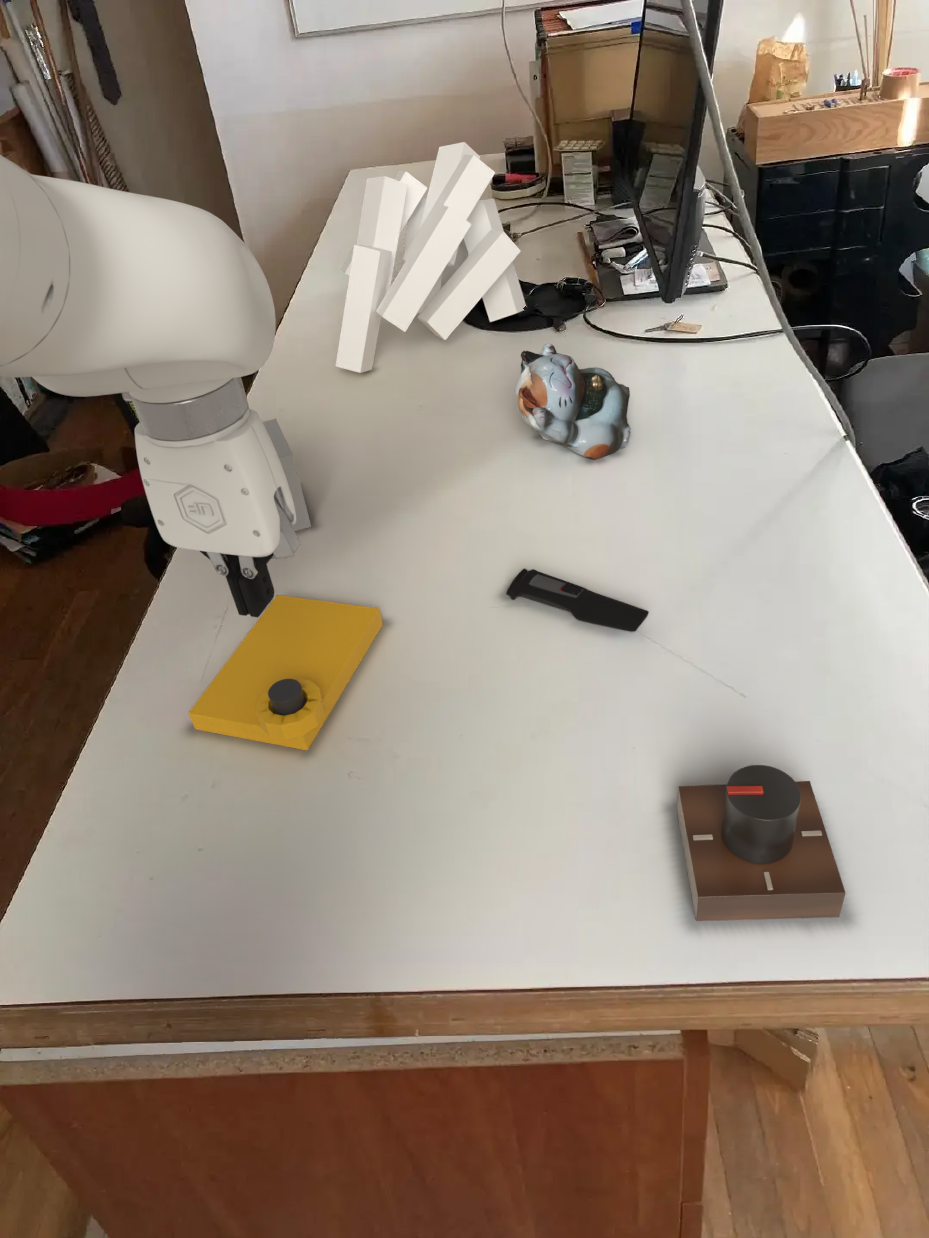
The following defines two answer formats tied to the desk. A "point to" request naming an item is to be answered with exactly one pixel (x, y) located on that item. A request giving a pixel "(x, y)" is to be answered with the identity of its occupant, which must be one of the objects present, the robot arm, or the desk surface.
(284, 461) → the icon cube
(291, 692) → the black cylindrical knob
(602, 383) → the lucky cat figurine
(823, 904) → the dial panel
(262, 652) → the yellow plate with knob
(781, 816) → the dial knob
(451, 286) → the pile of blocks
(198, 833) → the desk surface
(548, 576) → the electric trimmer
